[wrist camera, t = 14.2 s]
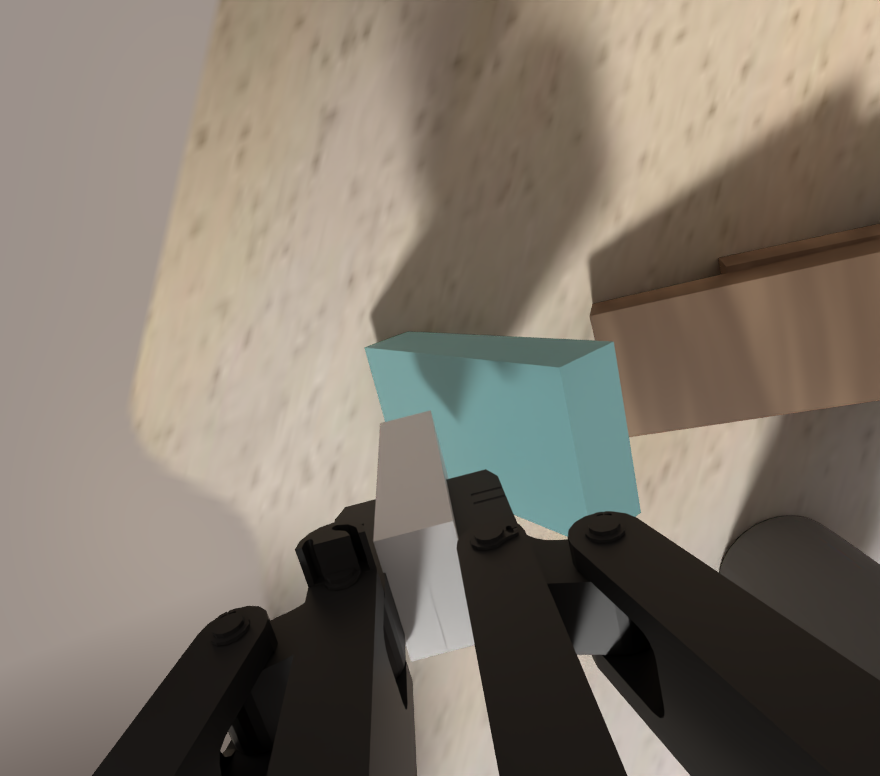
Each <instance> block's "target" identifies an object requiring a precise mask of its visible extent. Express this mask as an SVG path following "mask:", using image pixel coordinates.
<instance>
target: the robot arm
mask: <svg viewBox="0 0 880 776" xmlns="http://www.w3.org/2000/svg"><path fill="white" fill-rule="evenodd" d="M295 551H296V554H297V556H298V559H299V562H300V565H301V568H302V570H303V573H304V576H305V579H306V582H307V584H308V592H307V596H306V601H305V603H304V604H302V605H301V606H299V607H297V608H296V609H294V610H292V611H290V612H288V613H286V614H284V615H281V616H279V617H277V618H275V619H273V620H271V621H270V619H269V617H268V614H267V612H266V610H264V609H263V608H261V607H259V606H246V607H242V608H236V609H233V610H230V611H229V612H225V613H224V614H221V615H220V616H219V617H218V618H216V619H215V620H213V621H212V622H210V623H209V624H208V625H207V626H206V627H205V628H204V629H203V630H202V631H201V632H200V633H199V634H198V635H197V636H196V638H195V639H194V640H193V642H192V643H191V644H190V646H189V647H188V648H187V650H186V651H185V652H184V654H183V655H182V656H181V658H180V659H179V660H178V662H177V663H176V665H175V666H174V667H173V669H172V670H171V671H170V672H169V674H168V675H167V676H166V678H165V679H164V680H163V682H162V683H161V684H160V686H159V687H158V688H157V690H156V691H155V692H154V694H153V695H152V696H151V698H150V699H149V700H148V702H147V703H146V704H145V706H144V707H143V708H142V710H141V711H140V712H139V714H138V715H137V716H136V718H135V719H134V720H133V722H132V723H131V724H130V726H129V727H128V728H127V730H126V731H125V732H124V734H123V735H122V736H121V738H120V739H119V740H118V742H117V743H116V745H115V746H114V747H113V748H112V750H111V751H110V752H109V754H108V755H107V756H106V758H105V759H104V760H103V762H102V763H101V764H100V766H99V767H98V768H97V770H96V771H95V772H94V774H93V775H92V776H417V767H416V746H415V725H414V704H413V683H412V678H411V675H410V672H409V669H408V666H407V662H406V656H405V644H406V647H407V651H408V654H409V657H410V660H411V662H412V661H416V660H419V659H423V658H427V657H431V656H435V655H439V654H442V653H446V652H450V651H454V650H458V649H462V648H465V647H469V646H473V645H475V649H476V654H477V660H478V665H479V670H480V675H481V681H482V686H483V691H484V697H485V702H486V707H487V712H488V718H489V723H490V728H491V733H492V739H493V744H494V749H495V755H496V760H497V765H498V770H499V776H627V774H626V771H625V769H624V766H623V764H622V762H621V759H620V757H619V754H618V752H617V750H616V747H615V745H614V743H613V740H612V738H611V735H610V733H609V731H608V728H607V726H606V723H605V721H604V719H603V716H602V714H601V712H600V709H599V707H598V704H597V702H596V700H595V697H594V695H593V692H592V690H591V688H590V685H589V683H588V680H587V678H586V676H585V673H584V671H583V669H582V666H581V664H580V661H579V659H578V657H577V655H592V657H593V659H594V661H595V663H596V665H597V667H598V668H599V669H600V670H601V672H602V673H603V674H604V675H605V676H606V677H607V679H608V680H609V681H610V682H611V683H612V684H613V686H614V687H615V688H616V689H617V690H618V691H619V693H620V694H621V695H622V696H623V697H624V698H625V700H626V701H627V702H628V703H629V704H630V705H631V707H632V708H633V709H634V710H635V711H636V712H637V714H638V715H639V716H640V717H641V718H642V719H643V721H644V722H645V723H646V724H647V725H648V726H649V728H650V729H651V730H652V731H653V732H654V733H655V735H656V736H657V737H658V738H659V739H660V740H661V742H662V743H663V744H664V745H665V746H666V747H667V749H668V750H669V751H670V752H671V753H672V754H673V756H674V757H675V758H676V759H677V760H678V762H679V763H680V764H681V765H682V766H683V767H684V769H685V770H686V771H687V772H688V773H689V774H690V776H880V680H878V679H877V678H875V677H874V676H872V675H871V674H869V673H868V672H867V671H865V670H864V669H862V668H861V667H859V666H858V665H856V664H855V663H853V662H852V661H850V660H849V659H847V658H846V657H844V656H843V655H841V654H840V653H838V652H837V651H835V650H834V649H832V648H831V647H829V646H828V645H826V644H825V643H823V642H822V641H820V640H819V639H817V638H816V637H814V636H813V635H811V634H810V633H808V632H807V631H805V630H804V629H802V628H801V627H799V626H798V625H796V624H795V623H793V622H792V621H790V620H789V619H787V618H786V617H784V616H783V615H781V614H780V613H778V612H777V611H775V610H774V609H772V608H771V607H769V606H768V605H766V604H765V603H763V602H762V601H760V600H759V599H757V598H756V597H754V596H753V595H751V594H750V593H748V592H747V591H745V590H744V589H742V588H741V587H739V586H738V585H736V584H735V583H733V582H732V581H730V580H729V579H727V578H726V577H725V576H723V575H722V574H720V573H719V572H717V571H716V570H714V569H713V568H711V567H710V566H708V565H707V564H705V563H704V562H702V561H701V560H699V559H698V558H696V557H695V556H693V555H692V554H690V553H689V552H687V551H686V550H684V549H683V548H681V547H680V546H678V545H677V544H675V543H674V542H672V541H671V540H669V539H668V538H666V537H665V536H663V535H662V534H660V533H659V532H657V531H656V530H654V529H653V528H651V527H650V526H648V525H647V524H645V523H644V522H642V521H641V520H639V519H638V518H636V517H634V516H631V515H629V514H627V513H621V512H614V511H605V512H597V513H594V514H591V515H587V516H585V517H583V518H581V519H579V520H578V521H576V522H575V523H574V524H573V525H572V526H571V527H570V529H569V530H568V540H542V539H536V538H533V537H530V536H528V535H526V533H525V530H524V529H523V528H522V527H521V526H520V525H519V524H517V521H516V519H515V517H514V514H513V512H512V509H511V507H510V504H509V502H508V499H507V497H506V495H505V492H504V490H503V488H502V485H501V482H500V480H499V478H498V476H497V475H495V474H494V473H492V472H490V471H488V470H486V469H485V470H481V471H477V472H473V473H469V474H465V475H462V476H458V477H454V478H450V479H449V478H448V474H447V470H446V466H445V463H444V459H443V455H442V451H441V447H440V444H439V440H438V436H437V432H436V428H435V425H434V421H433V417H432V413H431V410H430V411H426V412H422V413H418V414H414V415H411V416H407V417H403V418H399V419H395V420H391V421H387V422H383V423H380V436H379V453H378V470H377V487H376V499H375V500H371V501H367V502H364V503H360V504H356V505H352V506H348V507H345V508H344V509H343V511H342V512H341V513H340V514H339V516H338V517H337V518H336V519H335V523H331V524H329V525H326V526H323V527H320V528H318V529H317V530H315V531H313V532H311V533H309V534H308V535H307V536H306V537H305V538H303V539H302V540H301V541H300V542H299V544H298V545H297V547H296V549H295ZM227 732H229V735H230V737H231V739H232V740H231V741H230V743H229V745H228V747H227V749H226V750H225V751H224V752H223V754H222V753H221V752H220V749H221V746H222V744H223V741H224V738H225V736H226V734H227Z"/></svg>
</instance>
